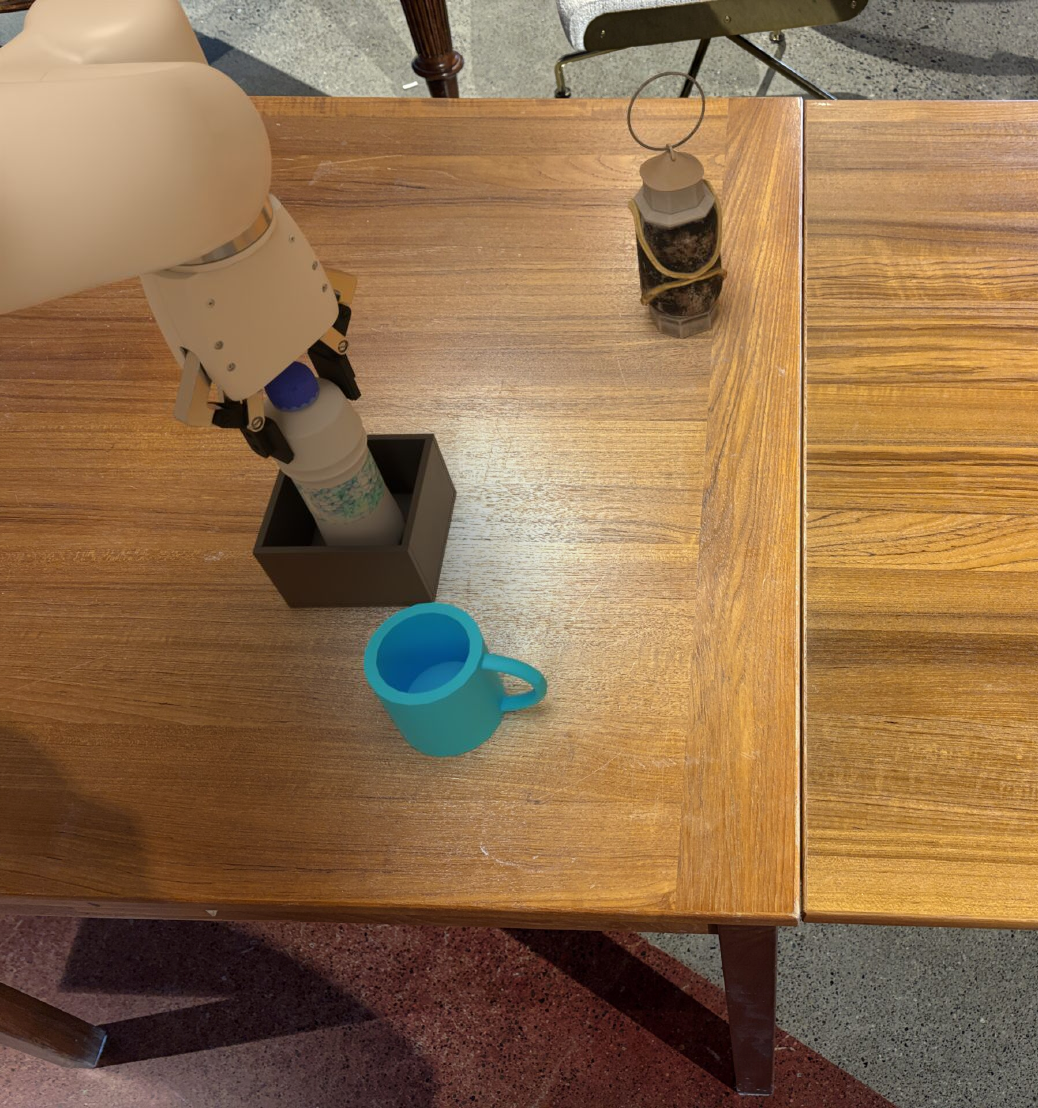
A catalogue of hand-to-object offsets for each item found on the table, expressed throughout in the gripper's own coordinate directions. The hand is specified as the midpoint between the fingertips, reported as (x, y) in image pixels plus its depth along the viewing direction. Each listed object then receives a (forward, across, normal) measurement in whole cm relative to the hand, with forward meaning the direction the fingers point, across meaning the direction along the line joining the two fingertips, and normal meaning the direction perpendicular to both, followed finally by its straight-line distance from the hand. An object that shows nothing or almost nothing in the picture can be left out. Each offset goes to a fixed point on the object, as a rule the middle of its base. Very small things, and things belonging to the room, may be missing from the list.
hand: (309, 421), depth 76 cm
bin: (+16, 0, 0) cm, 16 cm away
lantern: (+16, -36, +8) cm, 40 cm away
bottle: (+15, 0, 0) cm, 15 cm away
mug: (+16, +8, +17) cm, 24 cm away
